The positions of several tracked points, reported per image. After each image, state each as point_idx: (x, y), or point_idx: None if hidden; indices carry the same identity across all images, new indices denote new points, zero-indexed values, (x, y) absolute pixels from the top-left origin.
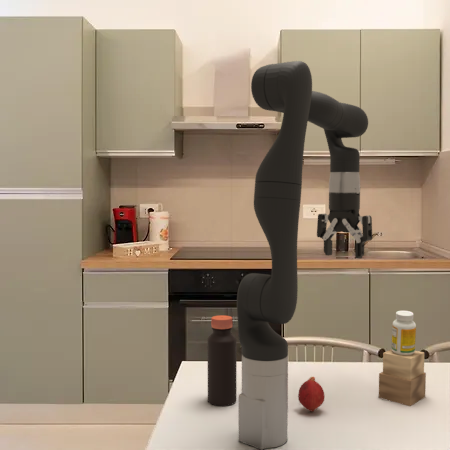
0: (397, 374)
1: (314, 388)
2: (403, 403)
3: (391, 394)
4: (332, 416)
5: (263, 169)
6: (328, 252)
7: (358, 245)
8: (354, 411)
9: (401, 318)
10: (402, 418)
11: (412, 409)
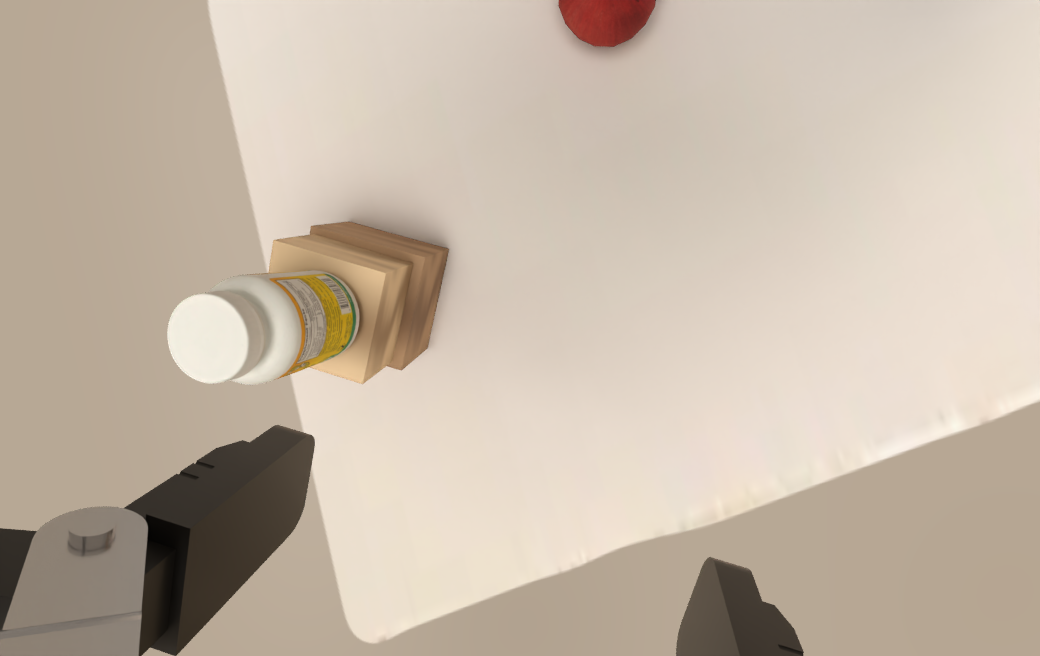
0: (356, 248)
1: None
2: (368, 227)
3: (400, 239)
4: (531, 8)
5: None
6: (708, 592)
7: (169, 508)
8: (481, 89)
9: (221, 291)
10: (343, 110)
11: (337, 198)
